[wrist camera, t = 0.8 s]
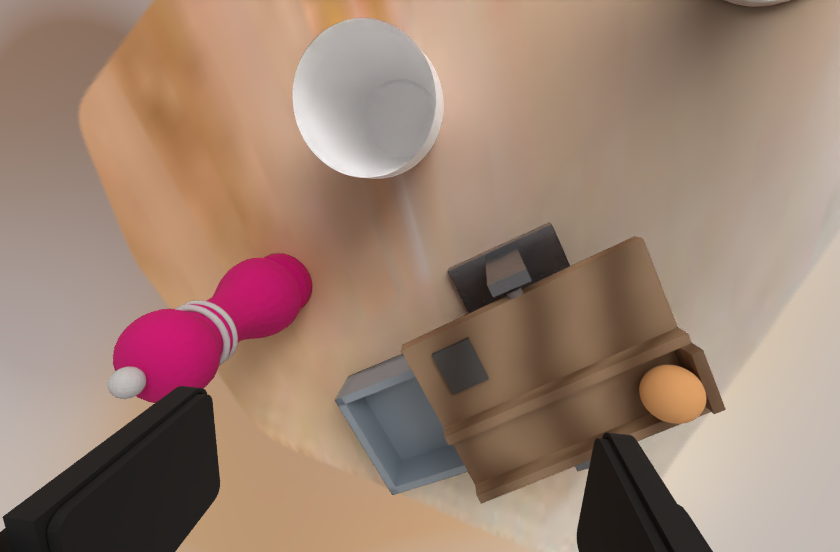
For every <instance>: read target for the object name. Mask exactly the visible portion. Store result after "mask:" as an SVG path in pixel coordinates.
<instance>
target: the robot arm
mask: <svg viewBox="0 0 840 552" xmlns="http://www.w3.org/2000/svg"><path fill="white" fill-rule="evenodd" d="M725 1H728V2H730V3H733V4H737V5H744V6H750V7H753V6H770V5H774V4H778V3H783V2H787V1H789V0H725ZM219 488H220V477H219V466H218V456H217V445H216V434H215V424H214V413H213V402H212V398H211V396H210V395H207V392H206V390H205V389H203V388H197V387H188V386H179V387H177V388H175V389H174V390H172V391H171V392H170V393H168V394H167V395H166V396H164V397H163V398H162V399H160V400H159V401H157V402H156V403H155V404H153V405H152V406H151V407H149V408H148V409H147V410H145V411H144V412H143V413H141V414H140V415H139V416H137V417H136V418H135V419H133V420H132V421H131V422H129V423H128V424H127V425H126V426H124V427H123V428H121V429H120V430H119V431H117V432H116V433H115V434H113V435H112V436H110V437H109V438H108V439H106V441H104V442H102V443H101V444H100V445H98V446H97V447H96V448H94V449H93V450H92V451H90V452H89V453H88V454H87V455H85V456H84V457H82V458H81V459H80V460H78V461H77V462H76V463H74V464H73V465H72V466H70V467H69V468H68V469H66V470H65V471H63V472H62V473H61V474H59V475H58V476H57V477H55V478H54V479H53V480H51V481H50V482H49V483H47V484H46V485H45V486H43V487H42V488H41V489H39V490H38V491H37V492H35V493H34V494H33V495H32V496H30V497H29V498H27V499H26V500H25V501H23V502H22V503H21V504H19V505H18V506H16V507H15V508H14V509H12V510H11V511H10V512H8V514H6V515H4V516H3V520H4V524H5V527H6V528H5V529H4V530H2V531H1V532H0V552H175V551H176V550H177V549H178V547H179V546H180V544H181V543H182V542H183V541H184V539H185V538H186V537H187V535H188V534H189V533H190V532H191V530H192V529H193V528H194V526H195V525H196V524H197V522H198V521H199V520H200V519H201V517H202V516H203V515H204V513H205V512H206V511H207V509H208V508H209V507H210V505H211V504H212V503H213V501H214V500H215V498H216V497H217V495H218V492H219ZM577 544H578V549H579V552H713V551H712V550H711V548H710V547H709V545H708V544H707V542H706V541H705V539H704V538H703V536H702V535H701V533H700V531H699V530H698V528H697V527H696V525H695V524H694V522H693V521H692V519H691V518H690V516H689V515H688V513H687V512H686V511H685V510H684V508H683V507H681V506H680V505H678V504H677V503H676V501H675V500H674V498H673V497H672V495H671V494H670V492H669V490H668V489H667V487H666V486H665V484H664V483H663V481H662V479H661V478H660V476H659V475H658V473H657V472H656V470H655V469H654V467H653V465H652V464H651V462H650V461H649V459H648V458H647V456H646V454H645V453H644V451H643V450H642V448H641V447H640V445H639V444H638V442H637V440H636V439H635V438H634V437H633V436H632V435H626V434H617V433H607V432H606V433H604V435H603V436H602V438H596V439H595V441H594V445H593V450H592V455H591V460H590V466H589V471H588V476H587V481H586V487H585V492H584V497H583V502H582V508H581V513H580V518H579V523H578V529H577Z"/></svg>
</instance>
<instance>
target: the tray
mask: <svg viewBox="0 0 840 552" xmlns="http://www.w3.org/2000/svg"><path fill="white" fill-rule="evenodd" d="M506 295H507V296H506V297H504V298H501V299H499V300H497V301H495V302H493V303H491V304H489V305H487V306H484V307H482V308H480V309H478V310H476V311H474V312H472V313H469V314H467V315H465V316H463V317H461V318H459V319H457V320H454V321H452V322H450V323H448V324H446V325H444V326H442V327H439V328H437V329H435V330H433V331H431V332H429V333H427V334H424V335H422V336H420V337H418V338H416V339H414V340H412V341H409V342H407V343H405V344H403V345H402V350H401V351H402V353H403V355H404V357H405V359H406V360H407V362H408V364H409V366H410V368H411V370H412V371H413V373H414V375H415V377H416V379H417V380H418V382H419V384H420V386H421V388H422V389H423V391H424V393H425V395H426V397H427V398H428V400H429V402H430V404H431V406H432V407H433V409H434V411H435V413H436V415H437V416H438V418H439V420H440V422H441V424H442V426H443V427H444V438H445V439H446V441H447V443H448V445H449V446H450V445H452V444H453V445H454V447H455V449H456V451H457V453H458V454H459V456H460V458H461V460H462V462H463V463H464V465H465V467H466V469H467V471H468V472H469V474H470V476H471V478H472V480H473V482H474V483H475V487H476V494H477V497H478V499H479V501H480V502H481V503H484V502H486V501H489V500H491V499H494V498H496V497H499V496H501V495H504V494H506V493H509V492H511V491H514V490H516V489H519V488H521V487H524V486H526V485H529V484H531V483H534V482H536V481H539V480H541V479H544V478H546V477H549V476H551V475H554V474H556V473H559V472H561V471H564V470H566V469H569V468H571V467H574V466H576V465H579V464H581V463H584V462H587V461H589V460H591V455H592V450H593V445H594V441H595V439H596V438H602V436H603V435H604V433H606V432H607V433H617V434H626V435H632V436H633V437H634V438H635V439H636V440H637V441H639V440H642V439H644V438H647V437H649V436H652V435H654V434H657V433H659V432H662V431H664V430H667V429H669V428H672V427H674V426H677V425H679V424H674V423H668V422H665V421H662V420H660V419H658V418H656V417H655V416H654V415H652V414H651V413H650V412H649V411H648V410H647V409H646V407H645V406H644V404H643V403H642V401H641V398H640V393H639V386H640V382H641V379H642V378H643V376H644V375H645V373H646V372H648V371H649V370H650V369H652V368H654V367H656V366H660V365H676V366H680V367H682V368H685V369H687V370H689V371H690V372H692V373H693V374H694V375H695V376H696V377H697V378H698V379H699V380H700V381H701V383H702V385H703V387H704V389H705V392H706V405H705V408H704V410H703V412H702V413H701V414H700V415H699V416H702V415H704V414H707V413H709V412H712V413H714V414H716V413H718V412H721V411H724V410H725V407H724V404H723V401H722V399H721V396H720V394H719V391H718V388H717V386H716V383H715V380H714V378H713V375H712V373H711V370H710V367H709V365H708V362H707V359H706V357H705V354H704V351H703V350H702V349H701V348H699V347H697V346H696V345H694V344H692V343H691V340H690V338H689V335H688V333H686V332H685V331H683V330H681V329H679V328H678V327H677V325H676V322H675V319H674V317H673V314H672V312H671V309H670V307H669V304H668V301H667V299H666V296H665V294H664V291H663V289H662V286H661V283H660V281H659V278H658V276H657V273H656V271H655V268H654V266H653V263H652V260H651V258H650V255H649V253H648V250H647V248H646V245H645V242H644V240H643V238H639V237H635V236H634V237H632V238H630V239H628V240H626V241H623V242H621V243H619V244H617V245H615V246H613V247H611V248H608V249H606V250H604V251H602V252H600V253H598V254H596V255H594V256H591V257H589V258H587V259H585V260H583V261H581V262H579V263H576V264H574V265H572V266H570V267H568V268H566V269H564V270H561V271H559V272H557V273H555V274H553V275H551V276H549V277H546V278H544V279H542V280H540V281H538V282H536V283H534V284H531V285H529V286H527V287H525V288H523V289H522V288H521V287H520V286H519V287H516V288H514V289H512V290H509V291H507V292H506ZM699 416H698V417H699Z"/></svg>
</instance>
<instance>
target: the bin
mask: <svg viewBox="0 0 840 552" xmlns="http://www.w3.org/2000/svg"><path fill="white" fill-rule="evenodd" d="M335 402H336V403H337V405H338V407H339V408H340V410H341V412H342V413H343V415H344V417H345V418H346V420H347V421H348V423H349V425H350V426H351V428H352V430H353V431H354V433H355V435H356V436H357V438H358V439H359V441H360V443H361V444H362V446H363V448H364V449H365V451H366V453H367V454H368V456H369V458H370V459H371V461H372V462H373V464H374V466H375V467H376V469H377V471H378V472H379V474H380V476H381V477H382V479H383V481H384V482H385V484H386V485H387V487H388V489H389V490H390V492H391V494H392V495H394V494H398V493H401V492H404V491H408V490H411V489H414V488H417V487H420V486H424V485H427V484H430V483H433V482H436V481H440V480H443V479H446V478H449V477H452V476H456V475H459V474H462V473H465V472H468V471H467V469H466V467H465V465H464V463H463V462H462V460H461V458H460V456H459V454H458V453H457V451H456V449H455V447H454V445H453V444H452V445H450V446H449V445H448V443H447V441H446V439H445V438H444V427H443V426H442V424H441V422H440V420H439V418H438V416H437V415H436V413H435V411H434V409H433V407H432V406H431V404H430V402H429V400H428V398H427V397H426V395H425V393H424V391H423V389H422V388H421V386H420V384H419V382H418V380H417V379H416V377H415V375H414V373H413V371H412V370H411V368H410V366H409V364H408V362H407V360H406V359H405V357H404V355H403V354H401V355H399V356H397V357H394V358H392V359H389V360H387V361H384V362H382V363H379V364H377V365H375V366H372V367H370V368H367V369H365V370H362V371H360V372H357V373H355V374H353V375H350V376H349V377H348V378H347V380H346V382H345V383H344V385H343V387H342V388H341V390H340V392H339V393H338V395H337V397H336V399H335Z"/></svg>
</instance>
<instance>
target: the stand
mask: <svg viewBox="0 0 840 552" xmlns="http://www.w3.org/2000/svg"><path fill="white" fill-rule="evenodd" d="M568 267H570V265H569V262H568V260H567V258H566V256H565V253H564V251H563V249H562V246H561V244H560V242H559V239H558V237H557V235H556V233H555V230H554V228H553V226H552V224H551V223H548V224H545V225H543V226H541V227H539V228H537V229H534V230H532V231H530V232H528V233H526V234H523V235H521V236H519V237H517V238H515V239H512V240H510V241H508V242H506V243H504V244H501V245H499V246H497V247H495V248H493V249H491V250H488V251H486V252H484V253H482V254H480V255H477V256H475V257H473V258H471V259H469V260H466V261H464V262H462V263H460V264H458V265H455V266H453V267H451V268H449V270H448V272H449V274H450V276H451V278H452V280H453V282H454V284H455V286H456V288H457V290H458V292H459V294H460V296H461V298H462V300H463V302H464V304H465V306H466V308H467V310H468V312H469V313H472V312H474V311H476V310H478V309H480V308H482V307H484V306H487V305H489V304H491V303H493V302H495V301H497V300H499V299H501V298H504V297H506V296H507V295H506V292H507V291H509V290H512V289H514V288H516V287H519V286H520V287H521V288H522V289H523V288H525V287H527V286H529V285H531V284H534V283H536V282H538V281H540V280H542V279H544V278H546V277H549V276H551V275H553V274H555V273H557V272H559V271H561V270H564V269H566V268H568ZM589 466H590V460H589V461H587V462H584V463H581V464H579V465H576V466H575V467H576V469H577V471H581V470H584V469H588V468H589Z"/></svg>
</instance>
